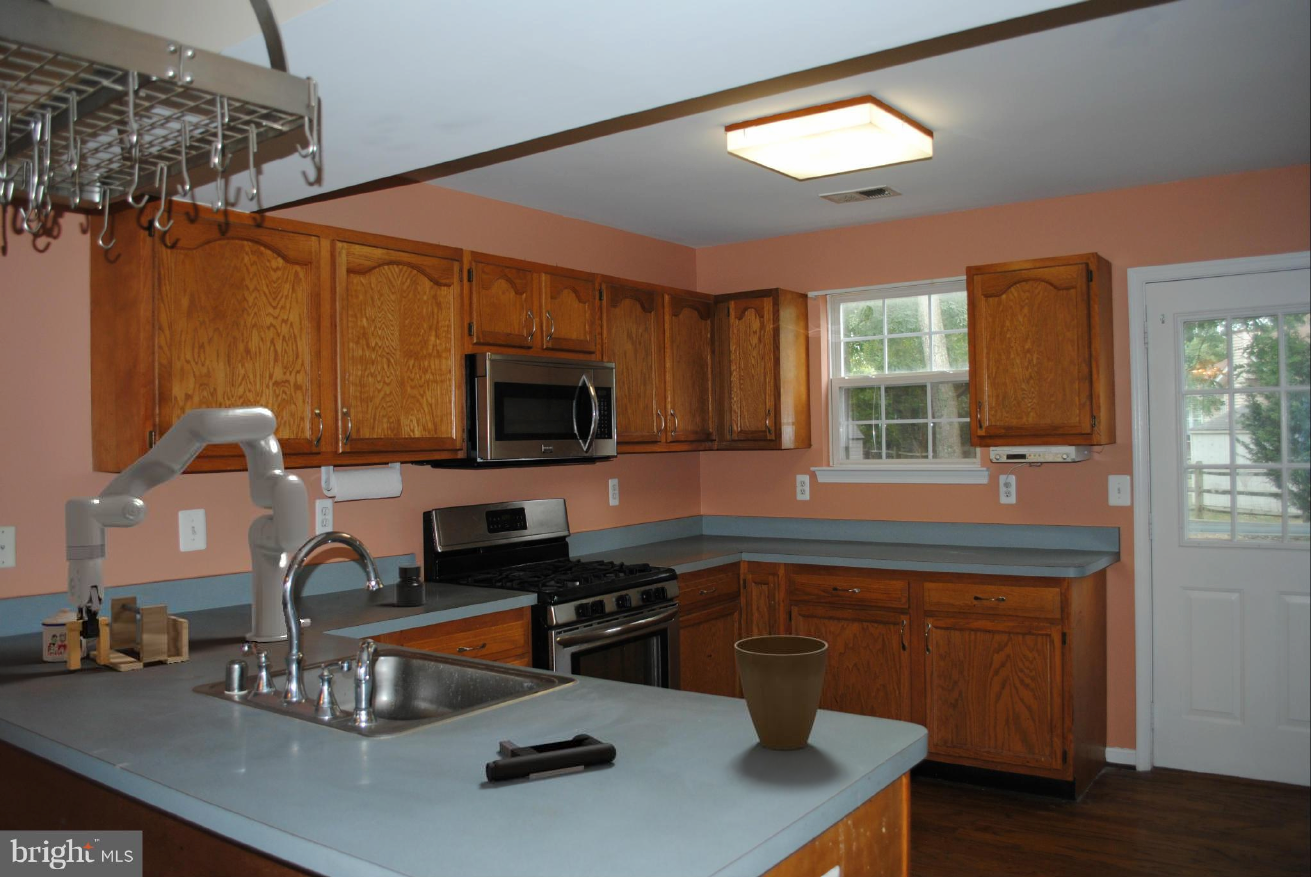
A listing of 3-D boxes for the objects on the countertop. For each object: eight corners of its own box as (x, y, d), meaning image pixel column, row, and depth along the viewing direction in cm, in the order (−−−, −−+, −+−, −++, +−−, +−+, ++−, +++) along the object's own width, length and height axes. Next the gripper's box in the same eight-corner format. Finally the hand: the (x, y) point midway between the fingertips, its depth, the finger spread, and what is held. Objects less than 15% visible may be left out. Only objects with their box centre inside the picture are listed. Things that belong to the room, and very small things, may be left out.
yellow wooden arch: (105, 661, 214) (104, 616, 214) (110, 663, 212) (108, 618, 212) (67, 667, 209) (66, 622, 209) (71, 669, 207) (70, 623, 207)
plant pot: (777, 724, 164) (776, 631, 164) (848, 744, 153) (847, 643, 153) (716, 742, 154) (715, 643, 154) (786, 765, 143) (785, 658, 143)
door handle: (462, 742, 149) (492, 765, 135) (582, 724, 158) (622, 745, 143) (463, 763, 149) (493, 790, 134) (582, 745, 158) (622, 767, 143)
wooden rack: (89, 657, 224) (89, 600, 224) (153, 647, 234) (153, 593, 234) (121, 671, 209) (121, 610, 209) (188, 660, 219) (188, 603, 219)
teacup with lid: (42, 664, 217) (42, 612, 217) (40, 657, 224) (40, 607, 224) (103, 656, 223) (103, 606, 224) (99, 650, 231) (99, 602, 231)
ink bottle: (427, 602, 301) (426, 564, 301) (425, 606, 292) (424, 567, 292) (395, 603, 299) (394, 564, 299) (392, 607, 291) (392, 568, 291)
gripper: (55, 552, 213) (57, 634, 213) (78, 557, 202) (80, 644, 202) (93, 549, 219) (95, 629, 219) (117, 554, 207) (119, 638, 207)
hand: (88, 636), depth 210 cm, fingers closed on yellow wooden arch, 3 cm apart
